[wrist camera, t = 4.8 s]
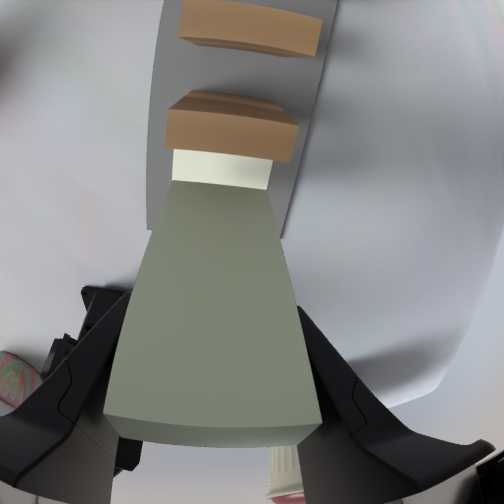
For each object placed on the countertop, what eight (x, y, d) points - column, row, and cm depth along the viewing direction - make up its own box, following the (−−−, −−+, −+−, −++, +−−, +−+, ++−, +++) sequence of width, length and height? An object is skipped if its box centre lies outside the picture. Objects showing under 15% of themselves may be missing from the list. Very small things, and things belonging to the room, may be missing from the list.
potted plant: (21, 389, 42) (0, 487, 22) (-34, 332, 30) (-74, 447, 10) (83, 402, 42) (67, 520, 22) (23, 341, 30) (-17, 495, 10)
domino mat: (278, 239, 23) (278, 243, 22) (148, 226, 21) (146, 230, 21) (353, -96, 6) (356, -98, 6) (203, -122, 5) (203, -125, 4)
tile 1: (282, 57, 14) (314, 56, 9) (197, 45, 13) (177, 36, 8) (287, 34, 13) (322, 20, 8) (202, 21, 13) (184, -2, 7)
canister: (231, 384, 37) (240, 532, 20) (360, 338, 32) (408, 502, 16) (284, 417, 47) (297, 521, 30) (379, 384, 43) (410, 493, 26)
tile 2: (268, 125, 17) (290, 163, 11) (188, 115, 16) (164, 148, 11) (273, 101, 16) (299, 126, 10) (191, 90, 15) (167, 109, 10)
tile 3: (260, 221, 17) (296, 445, 7) (171, 212, 16) (121, 437, 6) (266, 189, 15) (322, 423, 6) (172, 179, 15) (103, 413, 5)
